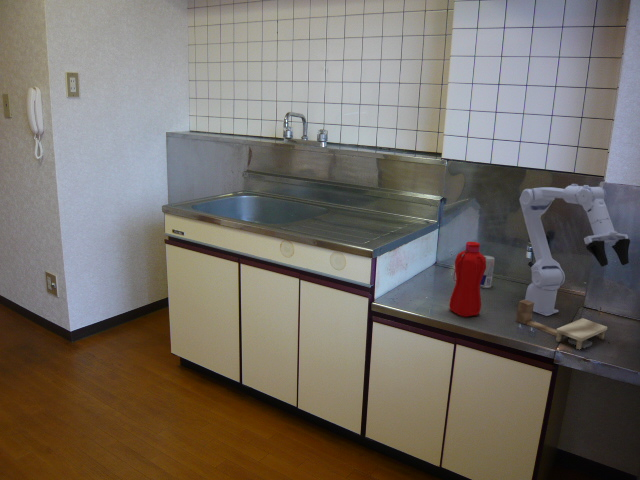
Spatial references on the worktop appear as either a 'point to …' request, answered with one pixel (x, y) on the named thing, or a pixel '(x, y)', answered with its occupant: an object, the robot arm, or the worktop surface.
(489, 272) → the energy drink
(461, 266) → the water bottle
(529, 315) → the wooden mallet
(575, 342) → the coaster
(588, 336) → the small wooden table
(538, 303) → the robot arm
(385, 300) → the worktop surface
